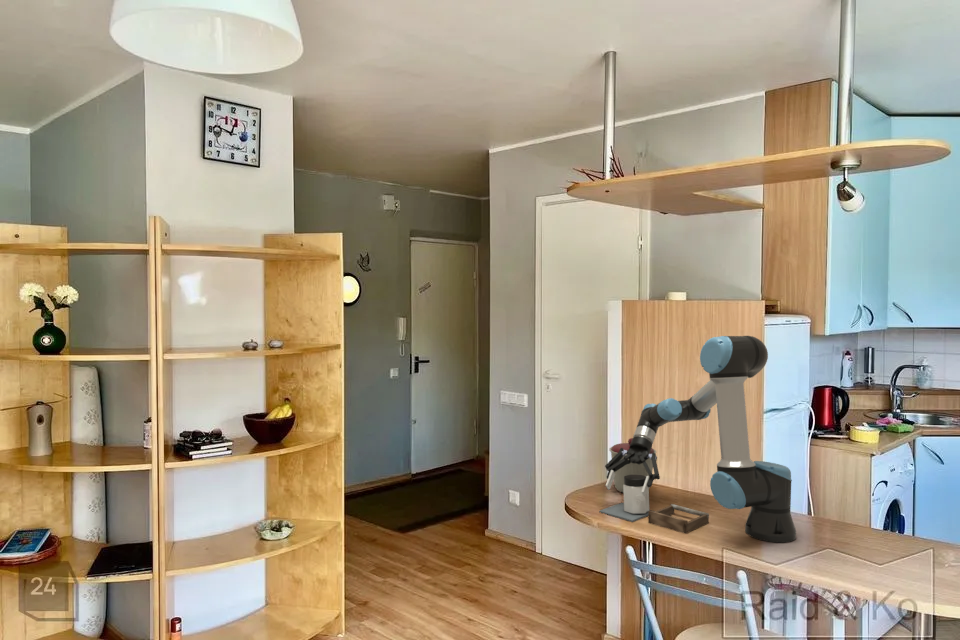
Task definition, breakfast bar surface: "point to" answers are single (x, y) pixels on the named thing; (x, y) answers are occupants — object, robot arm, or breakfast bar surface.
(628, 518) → the mat
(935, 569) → the breakfast bar surface
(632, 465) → the canister
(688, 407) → the robot arm
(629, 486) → the jar
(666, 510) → the jar holder
